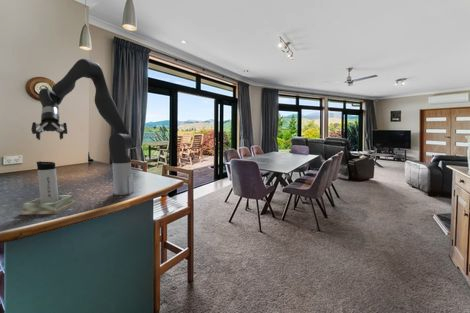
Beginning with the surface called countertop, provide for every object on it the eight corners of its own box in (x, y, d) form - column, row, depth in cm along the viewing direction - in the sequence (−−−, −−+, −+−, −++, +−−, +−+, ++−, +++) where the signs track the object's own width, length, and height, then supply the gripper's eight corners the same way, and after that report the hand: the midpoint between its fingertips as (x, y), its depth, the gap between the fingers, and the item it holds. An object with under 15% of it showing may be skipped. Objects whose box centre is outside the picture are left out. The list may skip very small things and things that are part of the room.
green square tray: (76, 203, 109) (75, 194, 109) (55, 213, 95) (54, 204, 95) (45, 203, 108) (45, 195, 108) (20, 214, 94) (19, 204, 94)
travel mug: (46, 203, 105) (42, 160, 102) (62, 203, 105) (58, 160, 103) (36, 208, 98) (31, 162, 96) (52, 207, 99) (48, 162, 97)
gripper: (31, 110, 116) (29, 133, 108) (66, 111, 124) (66, 133, 116) (34, 121, 121) (32, 144, 113) (67, 122, 129) (68, 143, 121)
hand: (50, 138), depth 114 cm, fingers open, 8 cm apart
